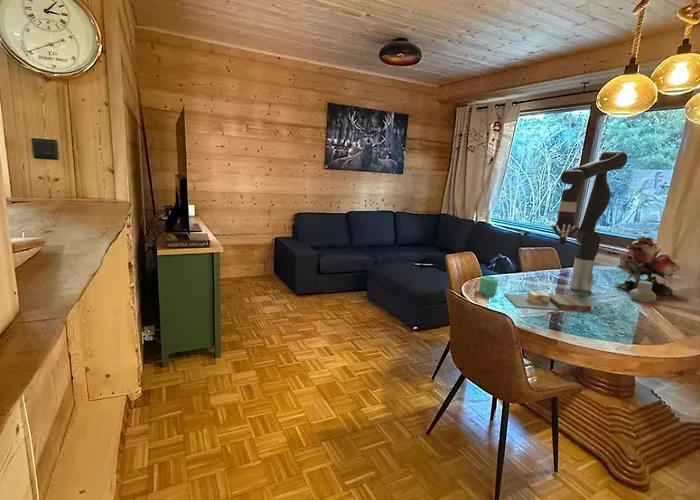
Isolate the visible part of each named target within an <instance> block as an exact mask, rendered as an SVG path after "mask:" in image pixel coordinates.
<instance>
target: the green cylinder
mask: <svg viewBox="0 0 700 500" xmlns="http://www.w3.org/2000/svg"><path fill="white" fill-rule="evenodd" d="M498 285H499V279H498V278H497V277H495V276H491V275H484V276H481V277H480V280H479V286H478V289H479V290H478V291H479V292H480V293H481V294H483V295H486V296H496V294H497V292H498Z"/></svg>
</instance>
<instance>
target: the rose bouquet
mask: <svg viewBox="0 0 700 500" xmlns="http://www.w3.org/2000/svg"><path fill="white" fill-rule="evenodd" d="M631 244H632V245H628V246H627V250H628V251H627V252H626V253H625V254H622V255H621V257H620V258H619V264H617V265H616V268H617V269H620V270H621V271H623V272H624V273H626V274H628V275H629V276H628V277H627V279H626V280H625V279H624V282H623V283H618V284H617V283H615V288H622V289H625V290H626V291H629V292H631V290H633V289H636V288H637V286H638V282H639V281H648V282H651V283H652V284H653V285H652V290H651V291H652V292H654V293H655V295H658V296H667V295H670V294H671V295H672V294H673V293H674V291H673V288H670V287H671V286H667V285H666V284H664V283H661V282H658V280H657V277H656V276H659V277H660V278H662V279H664V280H668V281H670V279H669V278H672V277H673V276H674V272H676V271H680V270H681V267H680V266H679V265H678V264H677V262H676V260H674V257H673V256H672V255H670V254H668V253H665V252H661V251H662V250H661V248H658V243H657V242H656V240H654V238H653V237H649V236H648V237H646V236H640V237H636V240H635V241H632V242H631ZM660 252H661V253H660ZM641 276H647V278H644V279H642V278H641ZM665 276H666V277H668V278H666V277H665ZM630 278H633V279H634V281H633V280H632V279H631V280H629V279H630Z"/></svg>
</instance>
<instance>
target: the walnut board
mask: <svg viewBox="0 0 700 500" xmlns="http://www.w3.org/2000/svg"><path fill="white" fill-rule="evenodd" d="M547 294H548V295H549V296H550V302H551V303H553V304H554V305H555V306H556V307H558V308H559V309H560V310H562V311H563V310H564V311H565V310H566V311H576V312H577V311H579V312H591V309H592V308H591V307H592V306H591V305H590V304H589V303H586V302H585V301H584V300H583V299H581V298H580V297H578V296H576V295H573V294H572V295H571V294H559V293H547Z"/></svg>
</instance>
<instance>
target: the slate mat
mask: <svg viewBox="0 0 700 500" xmlns="http://www.w3.org/2000/svg"><path fill="white" fill-rule="evenodd" d="M504 296H505V297H506V298H507V299H508V300H509V301H510V302H511V303H512V304H513V305H514V307H516V308H521V309H533V310H535V309H536V310H549V311H561V309H559V308H558V307H556V306H555V305H554V304H553V303H551V302H549V304H541V303H532V302H531V301H529V300H528V294H514V293H504Z"/></svg>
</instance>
